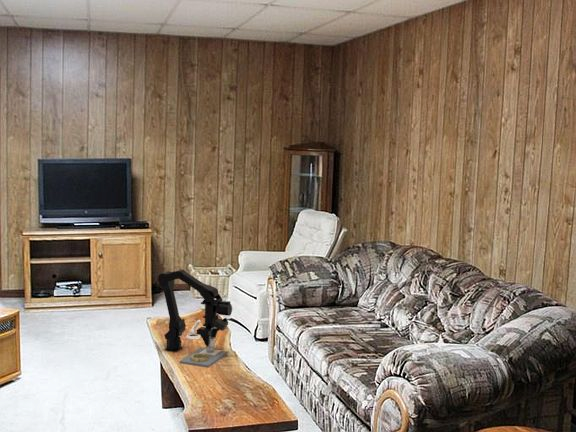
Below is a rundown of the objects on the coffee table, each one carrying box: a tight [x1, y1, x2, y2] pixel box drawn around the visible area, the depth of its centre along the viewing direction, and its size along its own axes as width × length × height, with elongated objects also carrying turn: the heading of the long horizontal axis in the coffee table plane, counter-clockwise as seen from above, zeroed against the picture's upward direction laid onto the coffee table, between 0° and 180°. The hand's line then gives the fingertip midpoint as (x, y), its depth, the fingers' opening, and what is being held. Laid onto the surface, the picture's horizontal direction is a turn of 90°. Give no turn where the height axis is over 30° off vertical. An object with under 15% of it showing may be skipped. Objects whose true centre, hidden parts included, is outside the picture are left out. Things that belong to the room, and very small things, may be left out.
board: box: [179, 347, 229, 368], centre depth 330 cm, size 15×22×1 cm
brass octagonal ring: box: [190, 353, 209, 362], centre depth 325 cm, size 8×8×2 cm
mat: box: [200, 348, 222, 356], centre depth 336 cm, size 8×8×1 cm
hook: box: [185, 319, 202, 340], centre depth 362 cm, size 8×12×7 cm
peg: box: [205, 336, 216, 353], centre depth 336 cm, size 4×4×7 cm
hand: (210, 344), depth 336 cm, fingers open, 6 cm apart
